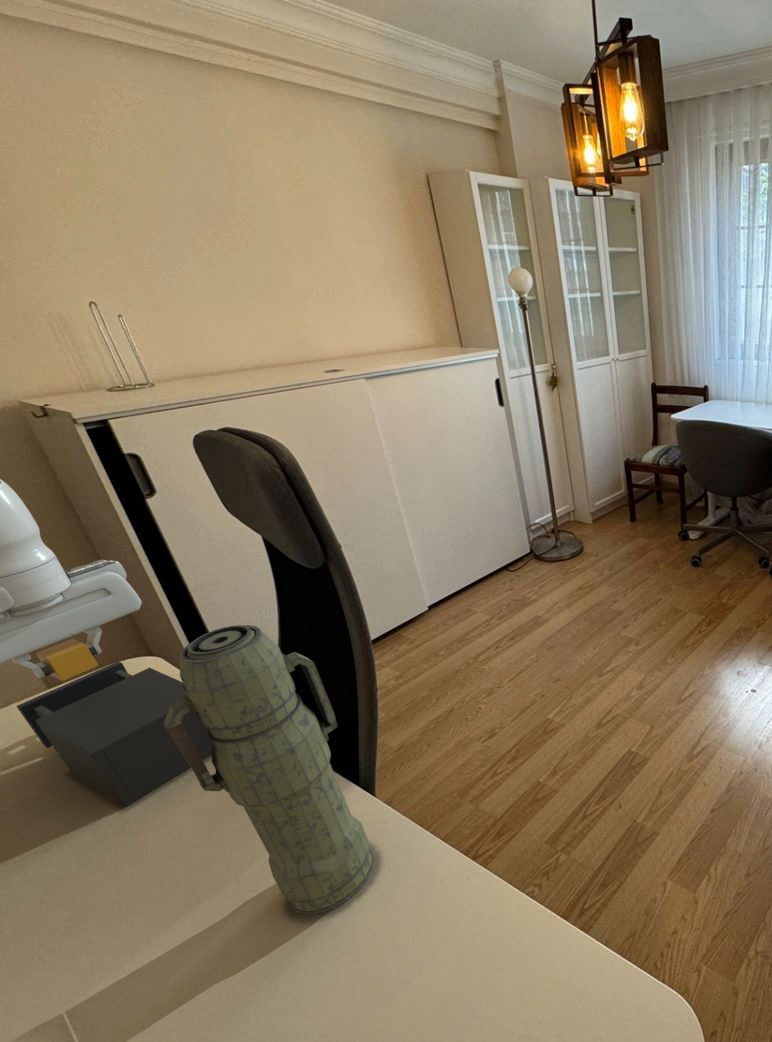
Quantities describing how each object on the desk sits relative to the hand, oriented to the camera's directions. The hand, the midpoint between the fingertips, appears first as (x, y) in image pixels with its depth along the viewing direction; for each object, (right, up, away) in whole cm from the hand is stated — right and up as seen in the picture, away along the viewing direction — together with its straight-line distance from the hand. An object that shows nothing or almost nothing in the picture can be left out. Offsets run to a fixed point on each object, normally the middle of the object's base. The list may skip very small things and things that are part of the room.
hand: (70, 664), depth 84 cm
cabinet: (+11, -15, +1) cm, 18 cm away
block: (0, -1, +1) cm, 1 cm away
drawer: (0, -12, +5) cm, 13 cm away
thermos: (+52, -22, -17) cm, 59 cm away
